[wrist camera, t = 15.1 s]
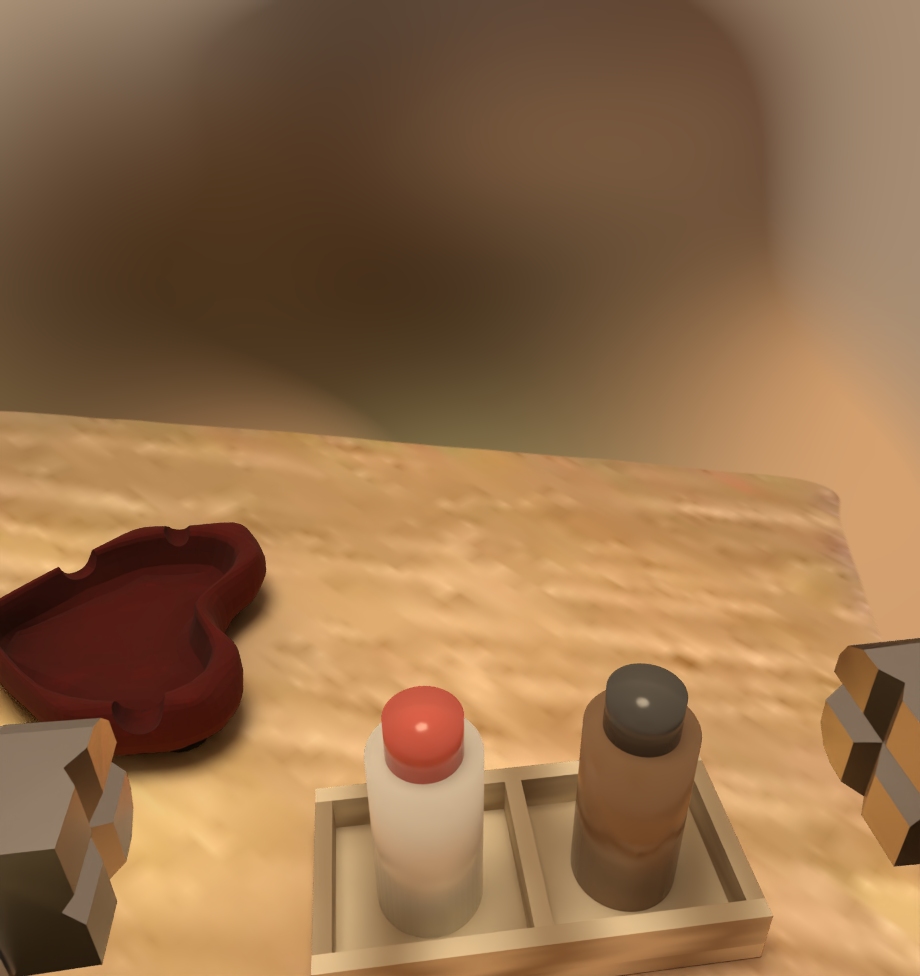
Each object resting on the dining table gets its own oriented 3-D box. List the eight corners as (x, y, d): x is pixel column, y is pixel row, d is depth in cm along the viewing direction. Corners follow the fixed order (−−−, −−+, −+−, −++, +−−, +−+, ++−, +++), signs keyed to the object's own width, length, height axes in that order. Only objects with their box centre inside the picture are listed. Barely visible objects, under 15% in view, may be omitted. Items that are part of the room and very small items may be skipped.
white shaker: (379, 944, 37) (361, 772, 31) (375, 846, 41) (359, 677, 35) (489, 931, 37) (493, 759, 31) (475, 835, 41) (476, 667, 35)
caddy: (318, 1015, 35) (311, 975, 34) (321, 828, 43) (315, 788, 41) (760, 956, 37) (772, 915, 36) (688, 787, 45) (696, 747, 43)
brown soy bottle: (584, 918, 38) (604, 744, 32) (560, 825, 42) (573, 655, 36) (689, 904, 38) (728, 730, 32) (655, 814, 42) (684, 645, 37)
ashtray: (43, 585, 60) (24, 527, 58) (277, 573, 61) (268, 514, 59) (-70, 795, 45) (-104, 729, 43) (242, 774, 46) (228, 707, 44)
